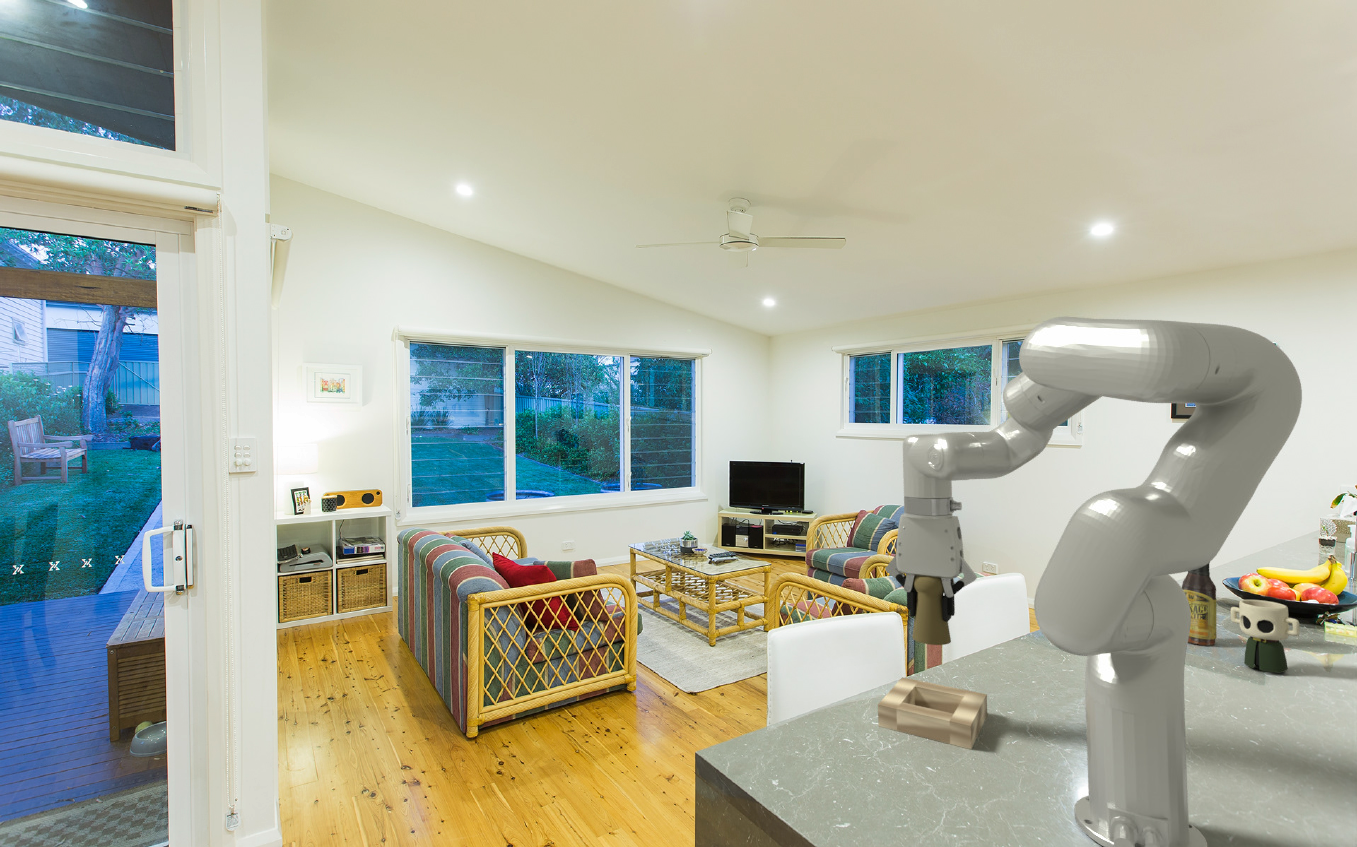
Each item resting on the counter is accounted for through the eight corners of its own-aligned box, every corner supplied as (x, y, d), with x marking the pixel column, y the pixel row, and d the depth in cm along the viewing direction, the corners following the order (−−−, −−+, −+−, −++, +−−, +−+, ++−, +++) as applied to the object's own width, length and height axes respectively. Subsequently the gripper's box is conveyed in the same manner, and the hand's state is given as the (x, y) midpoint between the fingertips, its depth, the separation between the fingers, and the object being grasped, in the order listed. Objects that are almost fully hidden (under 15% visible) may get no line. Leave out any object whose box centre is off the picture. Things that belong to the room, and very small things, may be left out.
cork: (954, 645, 101) (953, 577, 101) (915, 643, 102) (913, 576, 102) (946, 634, 106) (944, 569, 107) (909, 632, 108) (907, 568, 108)
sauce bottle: (1174, 640, 142) (1171, 552, 142) (1190, 636, 144) (1186, 550, 145) (1209, 648, 136) (1205, 557, 136) (1224, 644, 138) (1220, 554, 139)
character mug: (1222, 663, 127) (1219, 599, 128) (1242, 658, 130) (1240, 595, 130) (1291, 682, 117) (1288, 612, 118) (1311, 676, 120) (1308, 608, 120)
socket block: (971, 749, 94) (970, 725, 94) (878, 725, 102) (877, 704, 102) (987, 715, 105) (986, 694, 105) (902, 696, 113) (902, 677, 114)
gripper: (987, 508, 103) (990, 619, 102) (884, 503, 113) (886, 604, 112) (978, 512, 97) (982, 631, 96) (870, 507, 106) (873, 614, 106)
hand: (930, 615), depth 104 cm, fingers closed on cork, 4 cm apart
